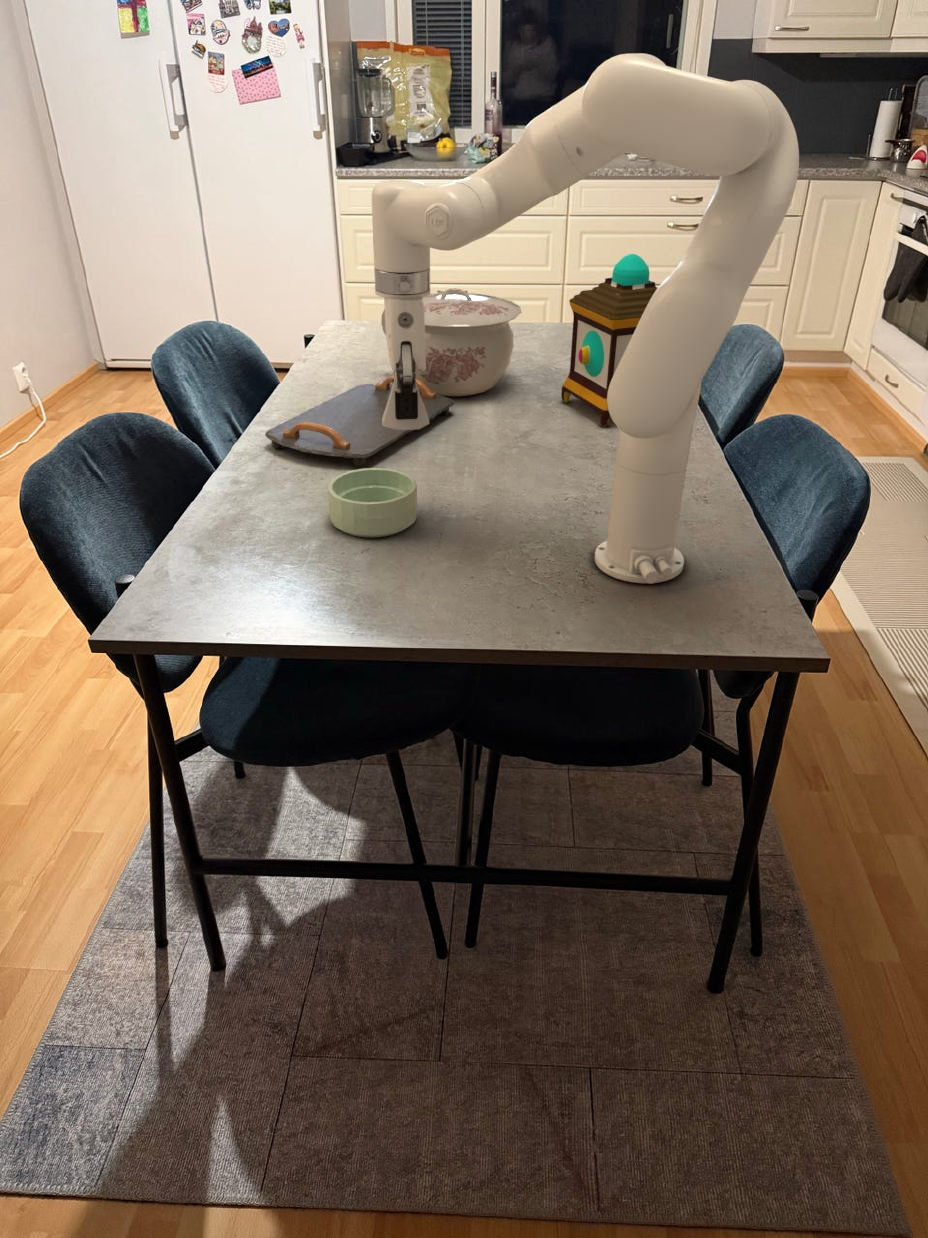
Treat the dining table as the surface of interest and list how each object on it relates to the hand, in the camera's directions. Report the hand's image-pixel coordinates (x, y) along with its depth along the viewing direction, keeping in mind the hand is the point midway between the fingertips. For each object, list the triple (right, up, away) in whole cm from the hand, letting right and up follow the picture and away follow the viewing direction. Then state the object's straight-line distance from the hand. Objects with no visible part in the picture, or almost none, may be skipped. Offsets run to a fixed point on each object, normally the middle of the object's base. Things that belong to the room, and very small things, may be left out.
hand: (405, 410), depth 132 cm
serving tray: (-11, +6, +42) cm, 44 cm away
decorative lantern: (+40, +12, +53) cm, 68 cm away
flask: (0, -2, +1) cm, 2 cm away
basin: (-5, -15, +9) cm, 18 cm away
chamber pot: (+7, +20, +65) cm, 68 cm away
